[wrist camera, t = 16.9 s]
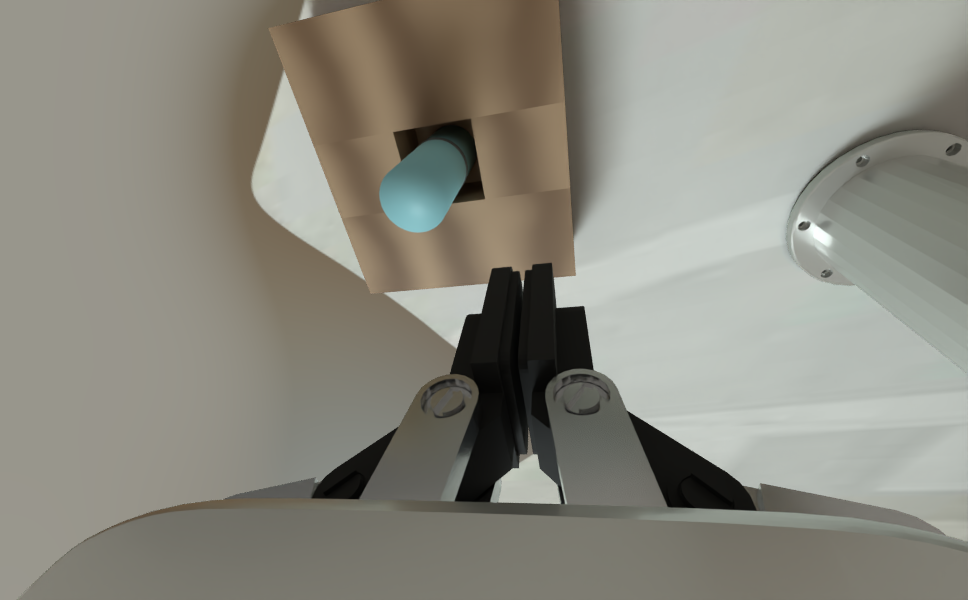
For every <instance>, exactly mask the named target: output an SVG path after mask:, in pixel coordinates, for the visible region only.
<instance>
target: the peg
mask: <svg viewBox="0 0 968 600" xmlns="http://www.w3.org/2000/svg"><path fill="white" fill-rule="evenodd" d="M476 157H477V151H476V145H475V141H474V139H473V137H472V136H471V134H470V133H469V132H468V131H467V130H465V129H464V128H462V127H460V126H456V125H447V126H444V127H441V128H440V129H438V130H437V131H436V132H435V133H434V134H432V135H431V136H430V137H429V138H428V139H427V140H425V141H423V142H422V143H421V144H420V145H418V146H417V148H416V149H415V150H414V151H413V152H411V153H410V154H409V155H408V156H407V157H406V158H404V159H403V160H402V161H401V162H400V163H399V164H397V165H396V166H395V167H394V168H393V169H392V170H390V171H389V172H388V173H387V174H386V175H385V177H384V178H383V180H382V182H381V186H380V191H379V196H380V202H381V206H382V208H383V210H384V212H385V214H386V215H387V217H388V218H389V219H390V220H391V221H392V222H393V223H394V224H395V225H397V226H398V227H400V228H402V229H404V230H407V231H410V232H417V233H419V232H426V231H430V230H432V229H434V228H435V227H437V226H438V225H439V224H440V223H441V222H442V220H443V219H444V217H445V215H446V213H447V211H448V210H449V208H450V206H451V204H452V202H453V201H454V199H455V197H456V195H457V194H458V192H459V190H460V189H461V187H462V186H463V184H464V182H465V180H466V178H467V176H468V174H469V172H470V170H471V169H472V167H473V165H474V163H475V161H476Z"/></svg>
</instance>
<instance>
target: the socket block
mask: <svg viewBox="0 0 968 600" xmlns="http://www.w3.org/2000/svg"><path fill="white" fill-rule="evenodd" d="M269 31H270V33H271V36H272V39H273V41H274V44H275V47H276V49H277V52H278V54H279V57H280V60H281V62H282V65H283V67H284V70H285V73H286V75H287V78H288V80H289V83H290V86H291V88H292V91H293V93H294V96H295V98H296V101H297V104H298V106H299V109H300V111H301V114H302V117H303V119H304V122H305V124H306V127H307V130H308V132H309V135H310V137H311V140H312V143H313V145H314V148H315V150H316V153H317V156H318V158H319V161H320V163H321V166H322V169H323V171H324V174H325V176H326V179H327V182H328V184H329V187H330V189H331V192H332V195H333V197H334V200H335V202H336V205H337V208H338V210H339V213H340V215H341V218H342V221H343V223H344V226H345V228H346V231H347V234H348V236H349V239H350V241H351V244H352V247H353V249H354V252H355V254H356V257H357V259H358V262H359V265H360V267H361V270H362V272H363V275H364V278H365V280H366V283H367V285H368V288H369V291H370V293H371V294H373V293H385V292H396V291H407V290H419V289H430V288H441V287H453V286H464V285H475V284H487V283H489V279H490V274H491V270H492V268H500V267H512V269H513V271H520V275H521V280H524V277H525V270H532V264H542V263H552V267H553V277H566V276H576V273H575V257H574V241H573V225H572V208H571V192H570V176H569V160H568V143H567V127H566V111H565V95H564V79H563V62H562V46H561V30H560V14H559V0H380V1H376V2H372V3H368V4H364V5H360V6H356V7H352V8H348V9H344V10H339V11H335V12H331V13H327V14H323V15H319V16H315V17H311V18H307V19H303V20H299V21H295V22H291V23H287V24H283V25H279V26H276V27H272V28H269ZM447 125H456V126H460V127H462V128H464V129H465V130H467V131H468V132H469V133H470V134H471V136H472V137H473V139H474V141H475V145H476V151H477V157H476V161H475V163H474V165H473V167H472V169H471V170H470V172H469V174H468V176H467V178H466V180H465V182H464V184H463V186H462V187H461V189H460V190H459V192H458V194H457V195H456V197H455V199H454V201H453V202H452V204H451V206H450V208H449V210H448V211H447V213H446V215H445V217H444V219H443V220H442V222H441V223H440V224H439V225H438V226H437V227H435V228H434V229H432V230H430V231H426V232H419V233H417V232H410V231H407V230H404V229H402V228H400V227H398V226H397V225H395V224H394V223H393V222H392V221H391V220H390V219H389V218H388V217H387V215H386V214H385V212H384V210H383V208H382V206H381V202H380V196H379V191H380V186H381V182H382V180H383V178H384V177H385V175H386V174H387V173H388V172H389V171H390V170H392V169H393V168H394V167H395V166H396V165H397V164H399V163H400V162H401V161H402V160H403V159H404V158H406V157H407V156H408V155H409V154H410V153H411V152H413V151H414V150H415V149H416V148H417V146H418V145H420V144H421V143H422V142H423V141H425V140H427V139H428V138H429V137H430V136H431V135H432V134H434V133H435V132H436V131H437V130H438V129H440V128H441V127H444V126H447Z"/></svg>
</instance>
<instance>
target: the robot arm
mask: <svg viewBox="0 0 968 600" xmlns="http://www.w3.org/2000/svg"><path fill="white" fill-rule="evenodd" d="M786 241H787V246H788V251H789V253H790V255H791V257H792V259H793V260H794V261H795V262H796V264H797V265H798V266H799V267H800V268H801V269H802V270H804V271H805V272H806V273H807V274H809V275H810V276H811V277H813V278H815V279H817V280H819V281H822V282H826V283H830V284H834V285H847V286H853V285H856V286H857V287H858V288H860V289H861V290H862V291H863V292H865V293H866V294H867V295H868V296H870V297H871V298H872V299H873V300H875V301H876V302H877V303H878V304H880V305H881V306H882V307H883V308H885V309H886V310H887V311H888V312H890V313H891V314H892V315H893V316H895V317H896V318H897V319H899V320H900V321H901V322H902V323H904V324H905V325H906V326H907V327H909V328H910V329H911V330H912V331H914V332H915V333H916V334H917V335H919V336H920V337H921V338H922V339H924V340H925V341H926V342H927V343H929V344H930V345H931V346H932V347H934V348H935V349H936V350H938V351H939V352H940V353H941V354H943V355H944V356H945V357H946V358H948V359H949V360H950V361H951V362H953V363H954V364H955V365H956V366H958V367H959V368H960V369H961V370H963V371H964V372H965V373H966V374H968V140H966V139H963V138H961V137H958V136H955V135H953V134H949V133H944V132H939V131H935V130H911V131H903V132H896V133H893V134H889V135H886V136H882V137H879V138H876V139H873V140H871V141H869V142H867V143H864V144H862V145H860V146H858V147H856V148H854V149H852V150H851V151H849V152H847V153H846V154H844V155H842V156H841V157H839V158H838V159H836V160H835V161H834V162H832V163H831V164H830V165H829V166H827V167H826V168H825V169H823V170H822V171H821V172H820V173H819V174H818V175H817V176H816V177H815V178H814V179H813V180H812V181H811V182H810V183H809V184H808V186H807V187H806V189H805V190H804V191H803V193H802V194H801V195H800V197H799V198H798V200H797V202H796V204H795V206H794V208H793V209H792V211H791V214H790V217H789V221H788V224H787V232H786ZM528 427H529V431H530V437H531V443H532V449H533V454H538V459H539V466H540V469H541V470H542V471H543V472H544V473H545V474H546V475H548V476H549V477H550V478H551V479H552V480H553V481H554V482H555V483H556V484H557V490H558V495H559V501H560V504H533V503H498V500H499V496H500V492H501V484H502V481H501V477H503V476H504V475H505V474H506V473H507V472H509V471H510V470H511V469H512V468H519V456H520V454H527V450H528ZM17 600H968V542H966V541H963V540H960V539H957V538H953V537H949V536H946V535H945V534H944V533H943V532H941V531H940V530H939V529H937V528H935V527H934V526H932V525H930V524H928V523H926V522H925V521H923V520H921V519H919V518H917V517H915V516H912V515H908V514H905V513H902V512H899V511H896V510H891V509H886V508H881V507H876V506H871V505H866V504H861V503H856V502H851V501H846V500H841V499H836V498H831V497H826V496H821V495H816V494H811V493H806V492H801V491H796V490H791V489H786V488H781V487H776V486H771V485H766V484H761V483H760V485H759V488H758V489H756V488H751V487H746V486H742V485H741V483H740V482H739V481H737V480H736V479H735V478H733V477H732V476H731V475H729V474H728V473H727V472H725V471H724V470H722V469H720V468H719V467H717V466H716V465H714V464H712V463H711V462H709V461H707V460H706V459H704V458H703V457H701V456H699V455H698V454H696V453H695V452H693V451H691V450H690V449H688V448H686V447H685V446H683V445H682V444H680V443H678V442H677V441H675V440H674V439H672V438H670V437H669V436H667V435H665V434H664V433H662V432H661V431H659V430H657V429H656V428H654V427H653V426H651V425H649V424H648V423H646V422H644V421H643V420H641V419H640V418H638V417H636V416H635V415H633V414H632V413H630V412H628V411H627V410H626V408H625V405H624V403H623V401H622V398H621V396H620V394H619V391H618V389H617V387H616V386H615V384H614V383H613V381H612V380H611V379H609V378H608V377H607V376H605V375H604V374H602V373H599V372H597V371H594V370H593V363H592V356H591V349H590V342H589V336H588V329H587V322H586V315H585V309H584V306H579V307H565V308H556V298H555V287H554V277H553V267H552V263H542V264H532V270H525V277H524V288H523V289H522V282H521V275H520V271H513V269H512V267H500V268H492V270H491V274H490V279H489V283H488V287H487V292H486V296H485V301H484V305H483V309H482V314H469V315H467V316H466V319H465V322H464V326H463V329H462V333H461V336H460V340H459V343H458V347H457V351H456V354H455V358H454V361H453V365H452V368H451V372H450V374H449V375H444V376H440V377H437V378H435V379H433V380H431V381H429V382H428V383H427V384H425V385H424V386H423V387H422V388H421V389H420V390H419V392H418V393H417V394H416V396H415V398H414V400H413V402H412V403H411V405H410V407H409V409H408V411H407V413H406V415H405V416H404V418H403V420H402V422H401V424H400V425H399V427H397V428H396V429H394V430H393V431H391V432H390V433H388V434H387V435H385V436H384V437H382V438H381V439H379V440H378V441H376V442H375V443H373V444H372V445H370V446H369V447H367V448H366V449H364V450H363V451H361V452H360V453H358V454H357V455H355V456H354V457H352V458H351V459H349V460H348V461H346V462H345V463H343V464H342V465H340V466H339V467H337V468H336V469H334V470H333V471H332V472H331V473H329V474H328V475H327V476H326V477H325V478H324V479H323V480H322V481H321V482H319V481H318V480H317V479H316V478H311V479H306V480H301V481H297V482H292V483H287V484H283V485H278V486H273V487H269V488H264V489H259V490H255V491H250V492H245V493H240V494H236V495H233V496H230V497H228V498H225V499H223V500H210V501H202V502H195V503H187V504H182V505H177V506H173V507H169V508H165V509H160V510H156V511H151V512H149V513H146V514H143V515H140V516H137V517H134V518H132V519H128V520H126V521H123V522H120V523H118V524H116V525H114V526H111V527H109V528H107V529H105V530H103V531H101V532H99V533H97V534H95V535H93V536H91V537H89V538H87V539H86V540H84V541H83V542H81V543H80V544H78V545H77V546H75V547H74V548H72V549H71V550H70V551H69V552H67V553H66V554H65V555H64V556H63V557H61V558H60V559H59V560H58V561H56V562H55V563H54V564H53V565H52V566H51V567H50V568H49V569H48V570H47V571H46V572H45V573H44V574H43V575H42V576H41V577H40V578H39V579H37V580H36V581H35V582H34V583H33V584H32V585H31V586H30V587H29V588H28V589H27V590H26V591H25V592H24V593H23V594H22V595H21V596H20V597H19V598H18V599H17Z"/></svg>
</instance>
